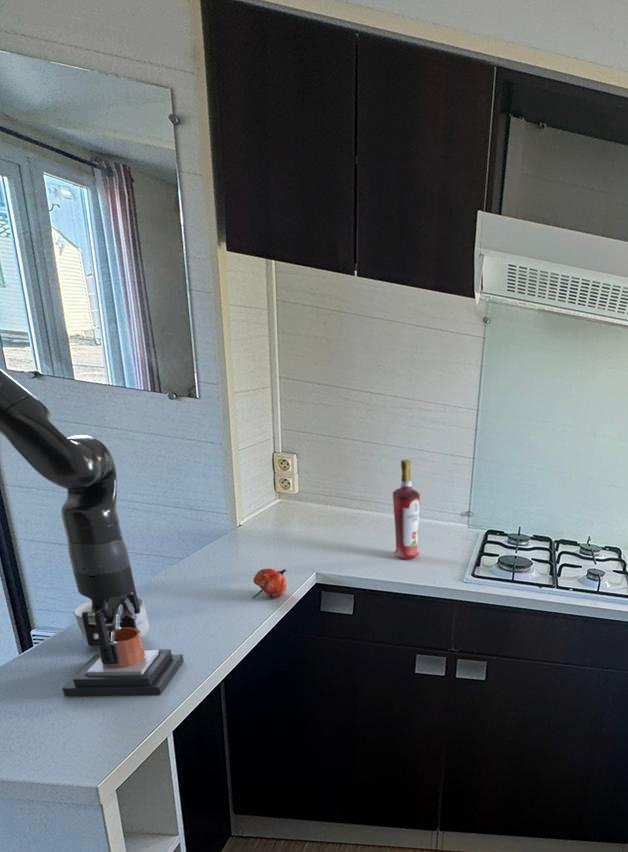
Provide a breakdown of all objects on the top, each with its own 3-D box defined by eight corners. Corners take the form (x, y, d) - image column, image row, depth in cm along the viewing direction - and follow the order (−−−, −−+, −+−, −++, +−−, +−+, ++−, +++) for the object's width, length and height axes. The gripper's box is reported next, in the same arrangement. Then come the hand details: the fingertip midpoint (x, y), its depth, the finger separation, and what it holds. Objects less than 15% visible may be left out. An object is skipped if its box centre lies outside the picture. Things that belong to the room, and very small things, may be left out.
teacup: (126, 658, 117) (117, 619, 114) (67, 651, 117) (57, 612, 113) (174, 627, 130) (167, 592, 126) (121, 621, 129) (112, 585, 126)
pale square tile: (88, 679, 106) (86, 671, 105) (108, 657, 113) (107, 649, 112) (143, 679, 108) (141, 671, 108) (159, 657, 115) (158, 649, 114)
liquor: (407, 551, 189) (406, 457, 176) (424, 557, 186) (425, 462, 174) (388, 556, 183) (386, 459, 171) (406, 563, 180) (405, 464, 168)
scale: (64, 696, 104) (60, 681, 103) (96, 662, 115) (93, 647, 113) (160, 695, 108) (157, 680, 107) (183, 661, 118) (181, 647, 117)
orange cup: (95, 669, 106) (88, 643, 104) (111, 652, 112) (105, 626, 110) (137, 668, 108) (131, 643, 106) (151, 652, 113) (145, 627, 111)
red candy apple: (264, 613, 145) (299, 586, 147) (239, 590, 141) (275, 562, 143) (263, 604, 151) (296, 577, 153) (238, 582, 147) (273, 555, 149)
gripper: (94, 548, 107) (114, 633, 114) (51, 579, 95) (76, 672, 102) (144, 550, 109) (161, 634, 116) (109, 580, 97) (130, 671, 104)
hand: (121, 651), depth 109 cm, fingers open, 8 cm apart
